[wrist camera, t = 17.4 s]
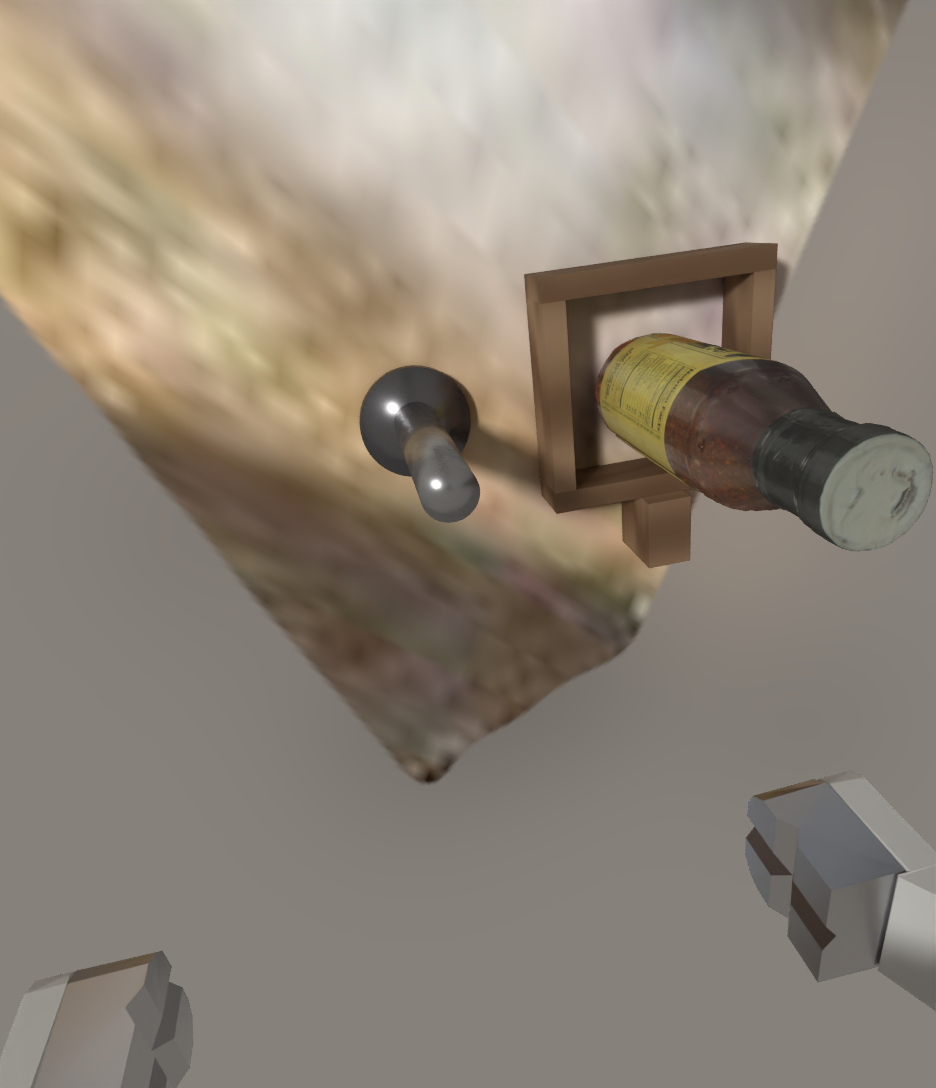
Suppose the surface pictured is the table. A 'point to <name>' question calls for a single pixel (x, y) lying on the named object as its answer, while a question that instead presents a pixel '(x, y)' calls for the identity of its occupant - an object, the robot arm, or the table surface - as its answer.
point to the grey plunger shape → (422, 437)
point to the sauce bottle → (762, 439)
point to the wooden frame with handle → (641, 485)
